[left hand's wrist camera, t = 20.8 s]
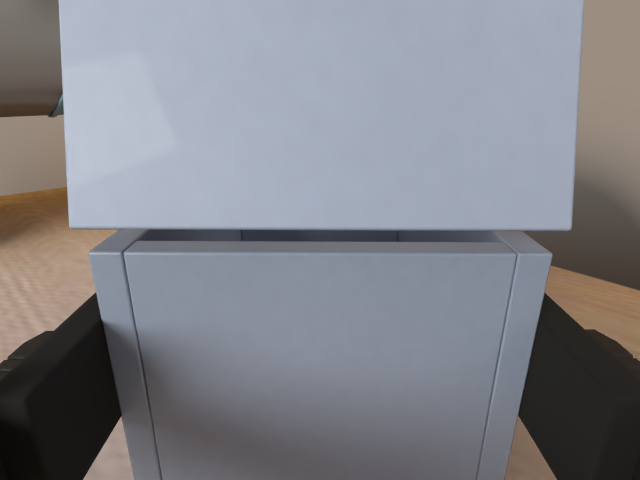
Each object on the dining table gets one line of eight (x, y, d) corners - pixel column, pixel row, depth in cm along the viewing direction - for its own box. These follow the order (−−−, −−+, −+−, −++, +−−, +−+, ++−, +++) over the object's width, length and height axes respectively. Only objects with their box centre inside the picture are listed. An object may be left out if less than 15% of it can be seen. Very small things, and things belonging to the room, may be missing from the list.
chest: (237, 324, 25) (224, 151, 21) (401, 324, 25) (416, 152, 21) (152, 572, 12) (86, 252, 9) (485, 573, 12) (554, 253, 9)
